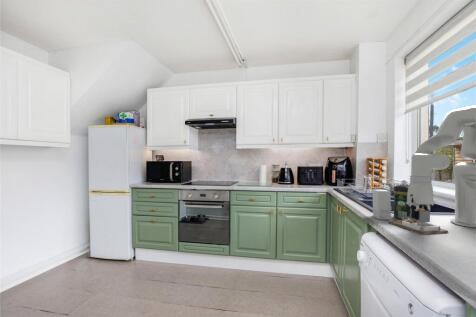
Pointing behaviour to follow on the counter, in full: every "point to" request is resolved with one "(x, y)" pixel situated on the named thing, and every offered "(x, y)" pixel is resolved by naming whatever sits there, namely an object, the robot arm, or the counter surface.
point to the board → (408, 219)
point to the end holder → (427, 227)
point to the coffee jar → (401, 202)
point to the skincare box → (381, 204)
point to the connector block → (423, 215)
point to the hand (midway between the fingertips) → (420, 218)
